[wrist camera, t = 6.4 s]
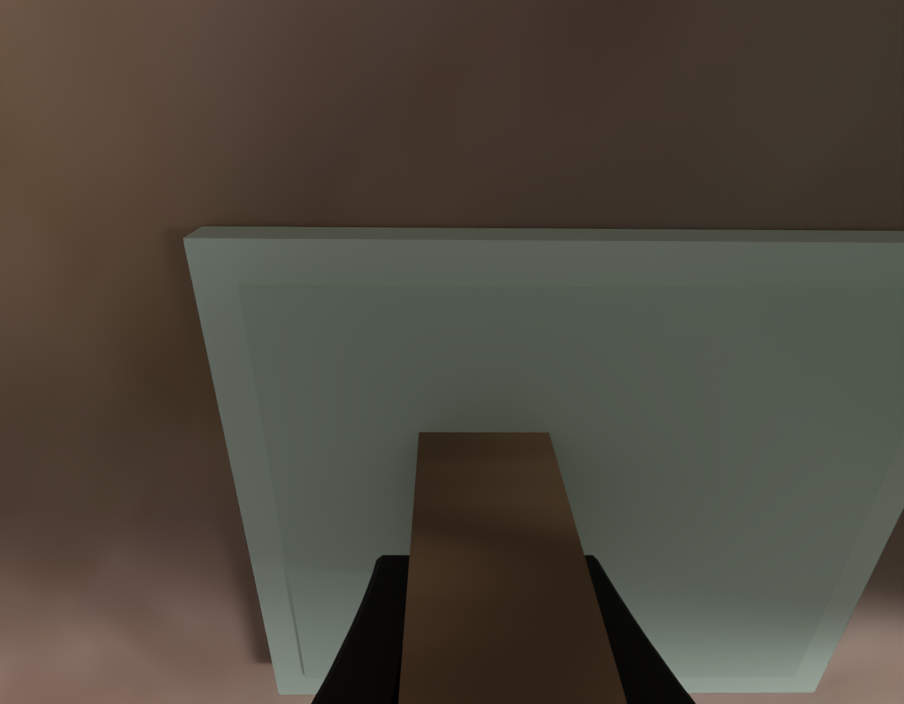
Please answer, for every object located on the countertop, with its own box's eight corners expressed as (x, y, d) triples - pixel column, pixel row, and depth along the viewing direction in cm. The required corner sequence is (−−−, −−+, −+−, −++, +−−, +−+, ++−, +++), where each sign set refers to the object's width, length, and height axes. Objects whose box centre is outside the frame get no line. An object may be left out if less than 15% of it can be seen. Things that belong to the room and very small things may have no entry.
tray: (287, 665, 15) (277, 698, 14) (201, 226, 10) (179, 240, 9) (797, 663, 15) (816, 695, 14) (989, 231, 10) (1037, 245, 9)
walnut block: (421, 580, 12) (401, 964, 7) (417, 432, 11) (388, 795, 5) (534, 580, 12) (600, 962, 7) (549, 432, 11) (656, 794, 5)
